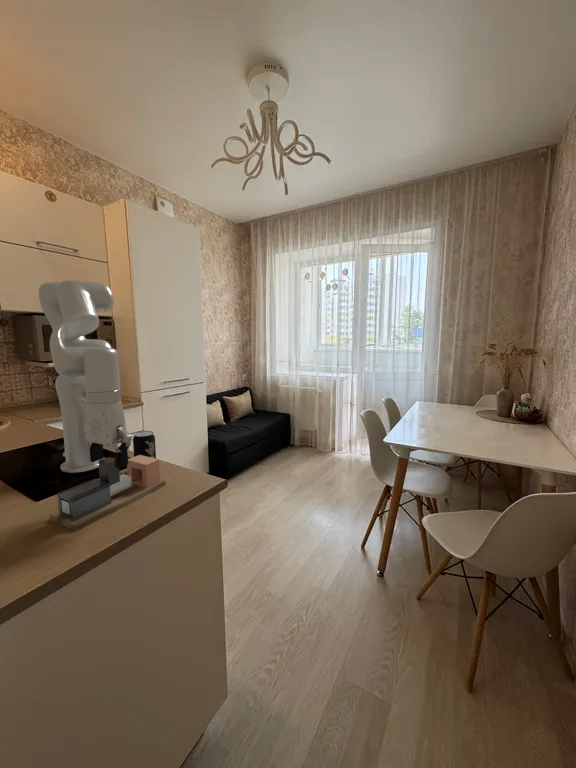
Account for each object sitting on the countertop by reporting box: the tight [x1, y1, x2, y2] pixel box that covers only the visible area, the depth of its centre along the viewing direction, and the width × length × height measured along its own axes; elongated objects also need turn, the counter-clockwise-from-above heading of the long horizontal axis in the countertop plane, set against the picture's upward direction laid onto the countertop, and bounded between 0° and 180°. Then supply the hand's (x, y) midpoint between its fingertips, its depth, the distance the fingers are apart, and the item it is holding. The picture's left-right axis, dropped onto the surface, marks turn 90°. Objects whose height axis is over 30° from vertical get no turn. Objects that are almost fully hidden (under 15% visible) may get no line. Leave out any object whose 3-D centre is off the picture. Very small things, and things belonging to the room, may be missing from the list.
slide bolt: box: [61, 456, 132, 515], centre depth 80 cm, size 4×16×9 cm, turn 154°
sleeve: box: [56, 478, 111, 521], centre depth 77 cm, size 6×9×5 cm, turn 154°
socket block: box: [126, 455, 161, 488], centre depth 92 cm, size 8×4×7 cm, turn 64°
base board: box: [49, 479, 167, 532], centre depth 84 cm, size 10×26×1 cm, turn 153°
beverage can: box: [132, 430, 157, 459], centre depth 104 cm, size 7×7×12 cm
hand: (109, 463), depth 82 cm, fingers open, 9 cm apart
